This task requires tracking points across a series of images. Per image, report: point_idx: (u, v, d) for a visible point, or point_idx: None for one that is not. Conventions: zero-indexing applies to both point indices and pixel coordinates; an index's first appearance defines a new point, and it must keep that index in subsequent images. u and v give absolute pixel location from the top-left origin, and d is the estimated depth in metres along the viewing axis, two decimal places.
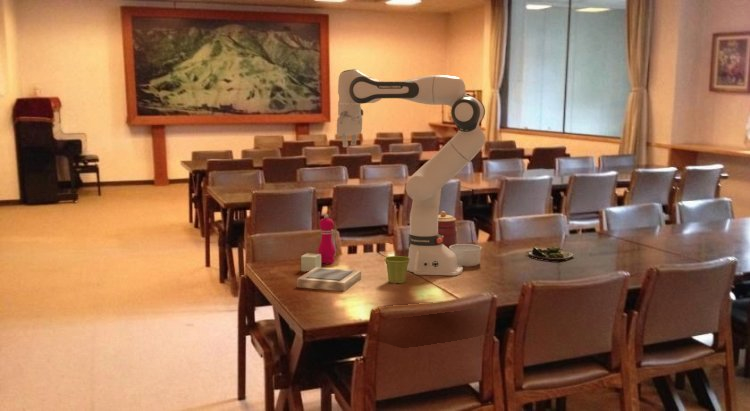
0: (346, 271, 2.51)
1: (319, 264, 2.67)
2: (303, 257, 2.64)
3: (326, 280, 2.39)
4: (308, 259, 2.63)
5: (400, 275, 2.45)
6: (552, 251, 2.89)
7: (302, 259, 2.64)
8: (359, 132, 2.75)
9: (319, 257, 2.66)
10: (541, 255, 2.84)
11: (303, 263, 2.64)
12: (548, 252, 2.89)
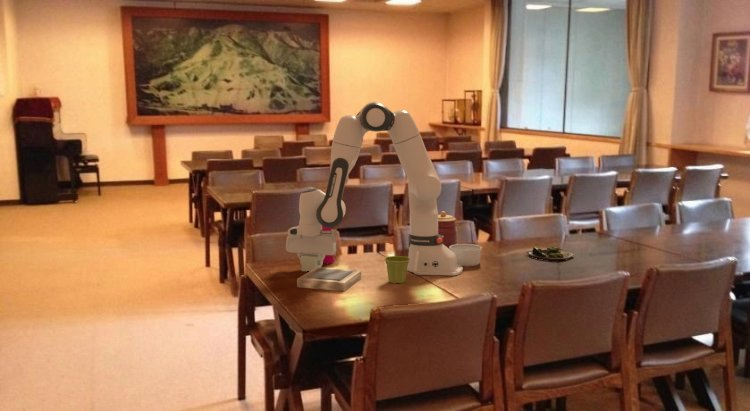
0: (346, 271, 2.51)
1: None
2: (303, 257, 2.64)
3: (326, 280, 2.39)
4: (308, 259, 2.63)
5: (400, 275, 2.45)
6: (552, 251, 2.89)
7: (302, 259, 2.64)
8: None
9: (319, 257, 2.66)
10: (541, 255, 2.84)
11: (303, 263, 2.64)
12: (548, 252, 2.89)
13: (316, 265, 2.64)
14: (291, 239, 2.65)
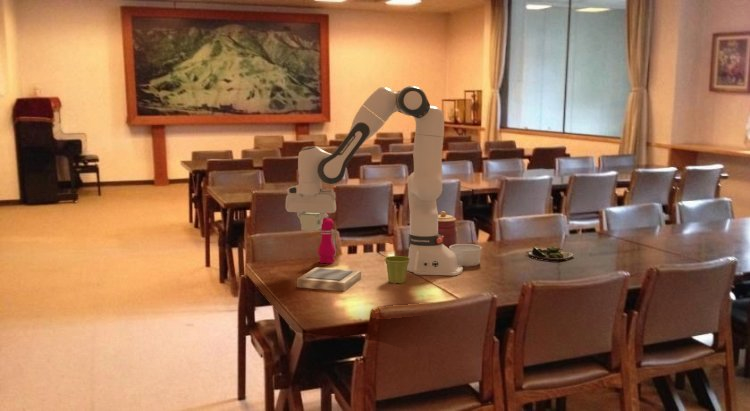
0: (346, 271, 2.51)
1: None
2: (303, 216, 2.61)
3: (326, 280, 2.39)
4: (308, 217, 2.61)
5: (400, 275, 2.45)
6: (552, 251, 2.89)
7: (302, 218, 2.61)
8: None
9: (319, 216, 2.64)
10: (541, 255, 2.84)
11: (303, 222, 2.62)
12: (548, 252, 2.89)
13: (316, 224, 2.61)
14: (290, 198, 2.63)
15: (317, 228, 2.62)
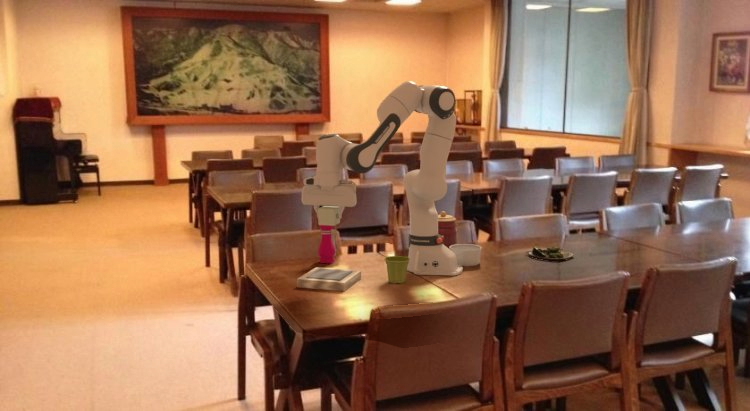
0: (346, 271, 2.51)
1: None
2: (320, 209, 2.41)
3: (326, 280, 2.39)
4: (326, 211, 2.41)
5: (400, 275, 2.45)
6: (552, 251, 2.89)
7: (319, 211, 2.41)
8: None
9: (338, 210, 2.44)
10: (541, 255, 2.84)
11: (320, 216, 2.41)
12: (548, 252, 2.89)
13: (334, 218, 2.41)
14: (307, 190, 2.43)
15: (335, 223, 2.42)
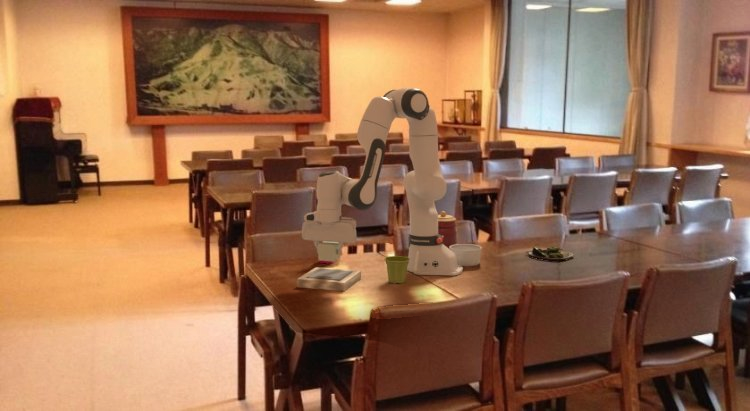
0: (346, 271, 2.51)
1: None
2: (320, 245, 2.43)
3: (326, 280, 2.39)
4: (326, 247, 2.42)
5: (400, 275, 2.45)
6: (552, 251, 2.89)
7: (319, 247, 2.43)
8: None
9: (337, 245, 2.45)
10: (541, 255, 2.84)
11: (320, 251, 2.43)
12: (548, 252, 2.89)
13: (334, 254, 2.43)
14: (307, 226, 2.45)
15: (335, 258, 2.44)
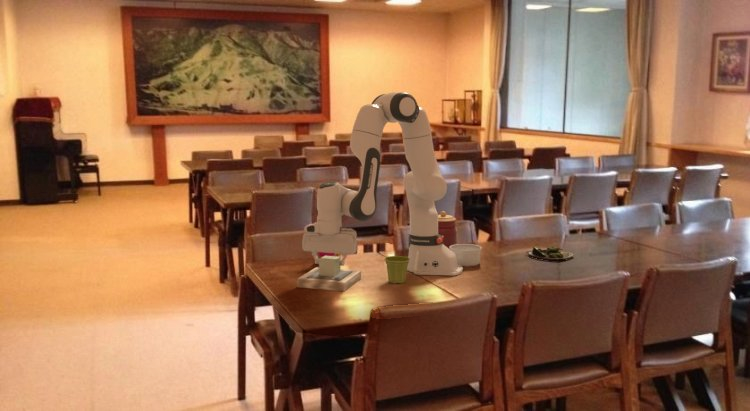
0: (346, 271, 2.51)
1: (338, 268, 2.47)
2: (321, 260, 2.44)
3: (326, 280, 2.39)
4: (327, 262, 2.43)
5: (400, 275, 2.45)
6: (552, 251, 2.89)
7: (320, 262, 2.44)
8: None
9: (338, 260, 2.46)
10: (541, 255, 2.84)
11: (321, 266, 2.44)
12: (548, 252, 2.89)
13: (335, 269, 2.44)
14: (308, 237, 2.45)
15: (336, 273, 2.45)
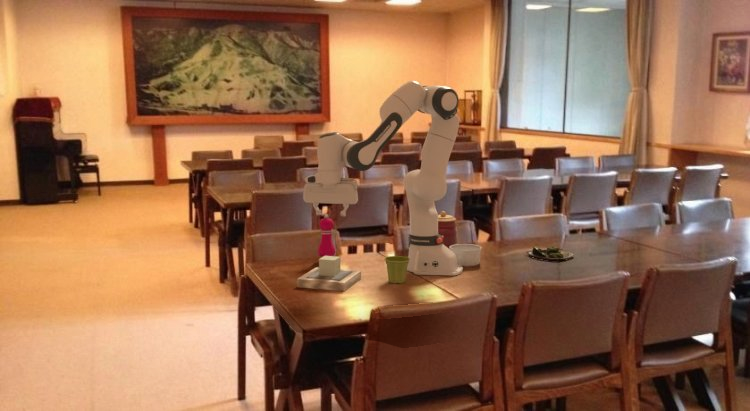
0: (346, 271, 2.51)
1: (338, 268, 2.47)
2: (321, 260, 2.44)
3: (326, 280, 2.39)
4: (327, 262, 2.43)
5: (400, 275, 2.45)
6: (552, 251, 2.89)
7: (320, 262, 2.44)
8: None
9: (338, 260, 2.46)
10: (541, 255, 2.84)
11: (321, 266, 2.44)
12: (548, 252, 2.89)
13: (335, 269, 2.44)
14: (308, 188, 2.45)
15: (336, 273, 2.45)
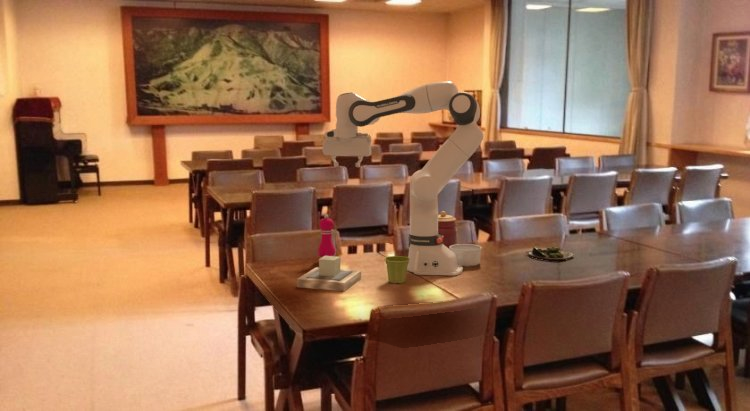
0: (346, 271, 2.51)
1: (338, 268, 2.47)
2: (321, 260, 2.44)
3: (326, 280, 2.39)
4: (327, 262, 2.43)
5: (400, 275, 2.45)
6: (552, 251, 2.89)
7: (320, 262, 2.44)
8: None
9: (338, 260, 2.46)
10: (541, 255, 2.84)
11: (321, 266, 2.44)
12: (548, 252, 2.89)
13: (335, 269, 2.44)
14: (327, 142, 2.76)
15: (336, 273, 2.45)
